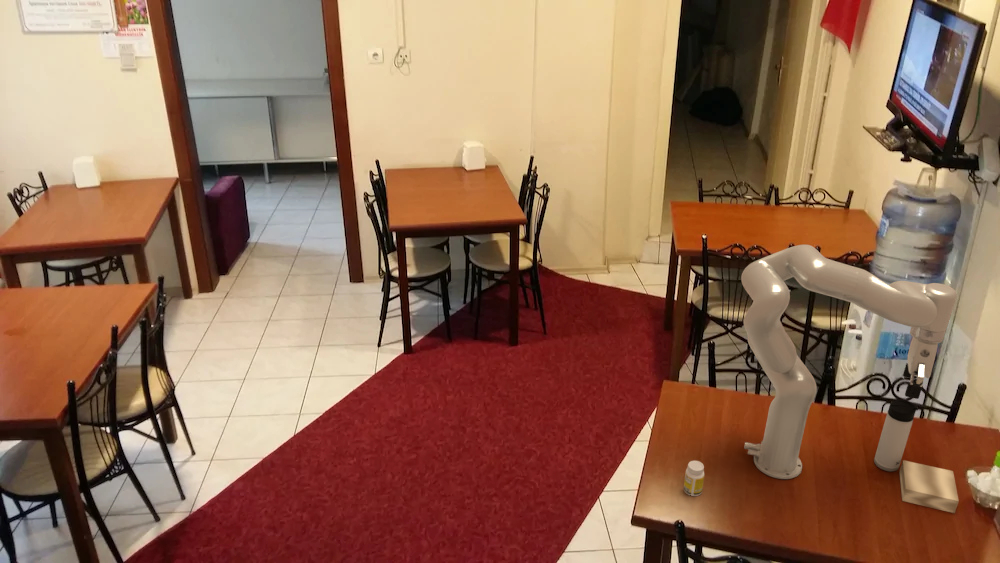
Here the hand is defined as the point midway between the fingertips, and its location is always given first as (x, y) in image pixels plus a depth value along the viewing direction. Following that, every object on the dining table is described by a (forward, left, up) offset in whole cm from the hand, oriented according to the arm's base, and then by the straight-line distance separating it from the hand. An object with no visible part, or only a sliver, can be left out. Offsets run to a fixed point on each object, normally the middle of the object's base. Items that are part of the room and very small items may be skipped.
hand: (910, 387), depth 200 cm
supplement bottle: (-49, -32, -25) cm, 63 cm away
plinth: (+8, -10, -25) cm, 28 cm away
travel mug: (-1, -2, -25) cm, 25 cm away
